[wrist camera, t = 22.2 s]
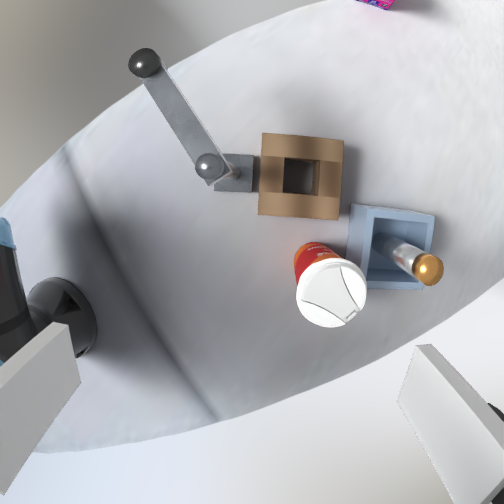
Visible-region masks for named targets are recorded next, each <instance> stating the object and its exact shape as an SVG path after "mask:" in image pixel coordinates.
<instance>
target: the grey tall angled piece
mask: <svg viewBox="0 0 504 504" xmlns="http://www.w3.org/2000/svg"><path fill="white" fill-rule="evenodd" d="M128 65H129V69H130V71H131V72H132V73H133V74H135V75H136V76H137V77H138V78H140V79H141V80H142V82H143V83H144V85H145V87H146V88H147V90H148V91H149V93H150V95H151V96H152V98H153V99H154V101H155V102H156V104H157V106H158V107H159V109H160V110H161V112H162V114H163V115H164V117H165V118H166V120H167V121H168V123H169V125H170V126H171V128H172V129H173V131H174V132H175V134H176V136H177V137H178V139H179V140H180V142H181V144H182V145H183V147H184V148H185V150H186V151H187V153H188V155H189V156H190V158H191V159H192V161H193V163H194V164H195V170H196V172H197V174H198V175H199V176H200V177H202V178H204V180H205V181H206V183H207V185H208V186H210V185H213V184H215V183H216V182H218V181H220V180H221V179H231V180H234V179H237V178H238V177H239V176H240V170H239V168H238V167H236V166H234V165H233V164H231V163H229V162H227V161H226V160H225V158H224V156H223V155H222V153H221V152H220V150H219V149H218V147H217V146H216V144H215V142H214V141H213V139H212V138H211V136H210V135H209V133H208V132H207V130H206V129H205V127H204V126H203V124H202V122H201V121H200V119H199V118H198V116H197V115H196V113H195V112H194V110H193V109H192V107H191V106H190V104H189V103H188V101H187V100H186V98H185V97H184V95H183V94H182V92H181V91H180V89H179V88H178V86H177V85H176V83H175V82H174V80H173V79H172V77H171V76H170V74H169V73H168V71H167V66H166V64H165V63H164V62H163V61H162V60H161V58H160V57H159V56H158V55H157V54H156V53H155V52H154V51H153V50H152V49H149V48H143V49H140V50H138V51H136V52H135V53H134V54H133V55H132V56H131V58H130V60H129V64H128Z"/></svg>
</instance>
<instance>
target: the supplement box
mask: <svg viewBox="0 0 504 504" xmlns="http://www.w3.org/2000/svg"><path fill="white" fill-rule="evenodd" d="M357 1H361V2H365V3H368V4H371V5H374V6H377V7H380V8H382V9H385V10H387V9H388V8H389V7H390V6H391V4H392V3H393V2H394V1H395V0H357Z"/></svg>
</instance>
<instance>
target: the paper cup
mask: <svg viewBox="0 0 504 504" xmlns="http://www.w3.org/2000/svg"><path fill="white" fill-rule="evenodd" d="M294 268H295V275H296V281H297V292H296V300H297V305H298V307H299V310H300V311H301V313H302V314H303V315H304V317H305V318H306V319H308V320H309V321H310V322H312V323H314V324H317V325H320V326H322V327H330V328H332V327H339V326H342V325H345V324H346V322H348V321H350V320H351V319H353V318H354V317H355V316H356V315H357V313H358V312H359V311H360V309H361V310H362V308H363V306H364V304H365V300H366V294H367V283H366V279H365V276H364V274H363V272H362V271H361V270H360V268H359V267H357V266H356V265H355V264H354V263H352V262H351V261H348V260H346V259H343V258H341V257H340V256H339V255H338V254H336V253H335V252H334V251H332V250H331V249H329V248H328V247H327V246H325V245H323V244H321V243H317V242H311V243H307V244H305V245H303V246H302V247H301V248H300V249H299V250H298V251H297V253H296V255H295V258H294Z"/></svg>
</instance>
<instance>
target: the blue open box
mask: <svg viewBox="0 0 504 504" xmlns="http://www.w3.org/2000/svg"><path fill="white" fill-rule="evenodd" d="M434 221H435V216H432V215H428V214H424V213H420V212H416V211H412V210H404V209H396V208H388V207H379V206H370V205H361V204H351V210H350V221H349V231H348V240H347V248H346V256H345V259H346V260H348V261H351V262H352V263H354V264H355V265H356V266H357V267H359V268H360V270H361V271H362V272H363V274H364V276H365V279H366V283H367V288H372V289H412V290H423V288H424V284H423V283H422V282H421V281H419V280H418V279H416V278H415V277H413V276H412V275H411V274H409V273H408V272H406V271H405V270H403V269H402V268H400V267H399V266H397V265H396V264H395V263H393V262H392V261H390V260H389V259H387V258H386V257H384V256H383V255H381V254H380V253H378V252H377V251H375V250H374V249H373V247H372V239H373V237H374V235H375V234H377V233H379V232H385V233H387V234H389V235H391V236H394V237H396V238H398V239H400V240H402V241H404V242H406V243H408V244H410V245H412V246H415V247H417V248H419V249H421V250H423V251H425V252H427V253H429V254H430V250H431V243H432V236H433V229H434Z"/></svg>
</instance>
